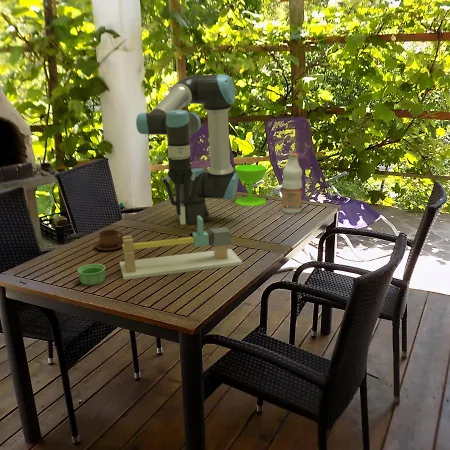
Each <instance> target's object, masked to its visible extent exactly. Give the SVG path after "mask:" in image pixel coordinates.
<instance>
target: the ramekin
mask: <svg viewBox="0 0 450 450" xmlns="http://www.w3.org/2000/svg"><path fill="white" fill-rule="evenodd" d="M77 273H78V276H79V281H80V283H81V284H82V285H85V286H95V285H99V284H101V283H103V282H104V281H105V280H106V266H105V264H102V263H101V264H100V263H90V264H84V265H81V266H80V267H78V269H77Z"/></svg>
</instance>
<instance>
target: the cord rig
mask: <svg viewBox="0 0 450 450" xmlns="http://www.w3.org/2000/svg"><path fill="white" fill-rule="evenodd" d="M206 232H207V233H208V234H209V245H208V246H210V247H211V246H213V250H209V251H200V252H192V253H182V254H174V255H165V256H157V257H148V258H140V259H136V256H135V250H141V249H148V248H158V247H165V246H176V245H183V244H184V245H185V244H193V243H194V242H195V237H193V236H192V237H189V236H188V237H180V238H178V237H177V238H172V239H171V238H170V239H162V240H154V241H153V240H152V241H144V242H143V241H142V242H134V239H133V236H132V235H124V236H122V239H123V245H122V247H121V248H122V251H123V259H124V260H123V261H122V260H121V261H119V267H120V271H121V274H122V279H123V281H125V280H132V279H133V280H134V279H142V278H149V277H156V276H157V277H158V276H163V275H170V274H171V275H172V274H178V273H179V274H180V273H187V272H196V271H204V270H209V269H210V270H211V269H218V268H219V269H220V268H228V267H236V266H243V260H242V259H240V257H239V256H238V255H237V254H236V253H235V252H234V251H233V250H232V248H228V246H230V245H231V231H230V229H228V227H226V226H225V227H217V228H210V230H209V229H208V230H206Z"/></svg>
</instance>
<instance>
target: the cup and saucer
mask: <svg viewBox="0 0 450 450" xmlns="http://www.w3.org/2000/svg"><path fill="white" fill-rule="evenodd" d="M119 234H120V237H119ZM123 235H124V234H123V232H121V231H117V230H116V229H106V230H102V231H100V232H98V237H99V240H97V241H95V242H94V243H93V246H94V247H95V248H96V249H98V250H99V251H100V250H101V251H113V250H117V249H121V248H122V245H123Z"/></svg>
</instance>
